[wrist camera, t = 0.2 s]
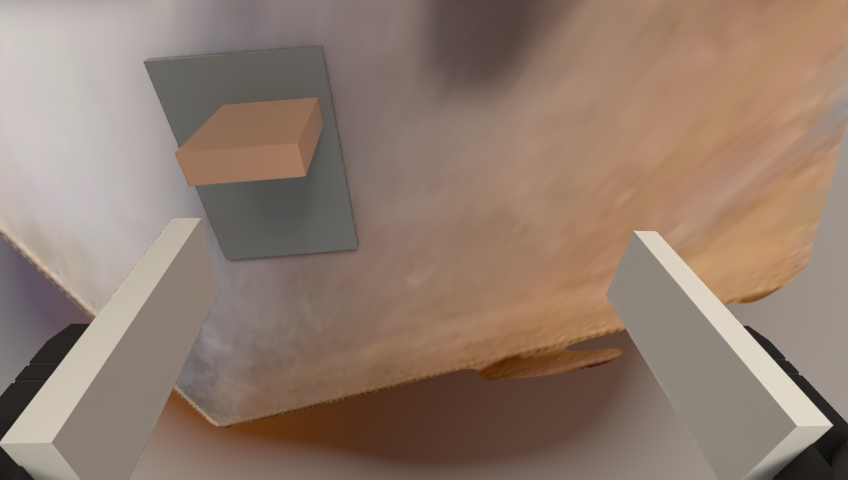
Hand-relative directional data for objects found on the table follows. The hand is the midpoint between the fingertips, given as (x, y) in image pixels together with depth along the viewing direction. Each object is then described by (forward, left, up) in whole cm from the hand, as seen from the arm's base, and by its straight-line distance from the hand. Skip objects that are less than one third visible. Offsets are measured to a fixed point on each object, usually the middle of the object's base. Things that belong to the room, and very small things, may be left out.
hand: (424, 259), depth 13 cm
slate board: (+9, -13, -27) cm, 32 cm away
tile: (+4, -11, -26) cm, 29 cm away
